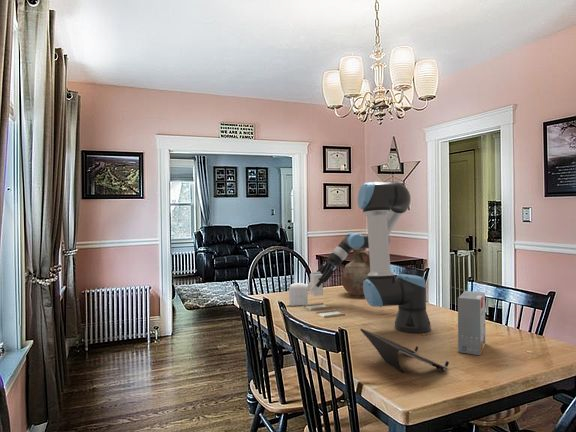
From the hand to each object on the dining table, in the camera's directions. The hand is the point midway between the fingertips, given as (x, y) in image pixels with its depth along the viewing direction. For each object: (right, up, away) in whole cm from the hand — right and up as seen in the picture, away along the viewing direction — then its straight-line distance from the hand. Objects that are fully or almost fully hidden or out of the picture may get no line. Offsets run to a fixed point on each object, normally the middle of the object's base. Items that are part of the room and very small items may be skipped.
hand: (310, 289), depth 214 cm
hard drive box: (+57, -10, -63) cm, 85 cm away
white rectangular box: (+4, -3, +1) cm, 5 cm away
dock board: (+7, -11, -7) cm, 14 cm away
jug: (+32, -10, +34) cm, 48 cm away
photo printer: (-6, -11, +12) cm, 17 cm away
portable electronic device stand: (+28, -12, -78) cm, 83 cm away
